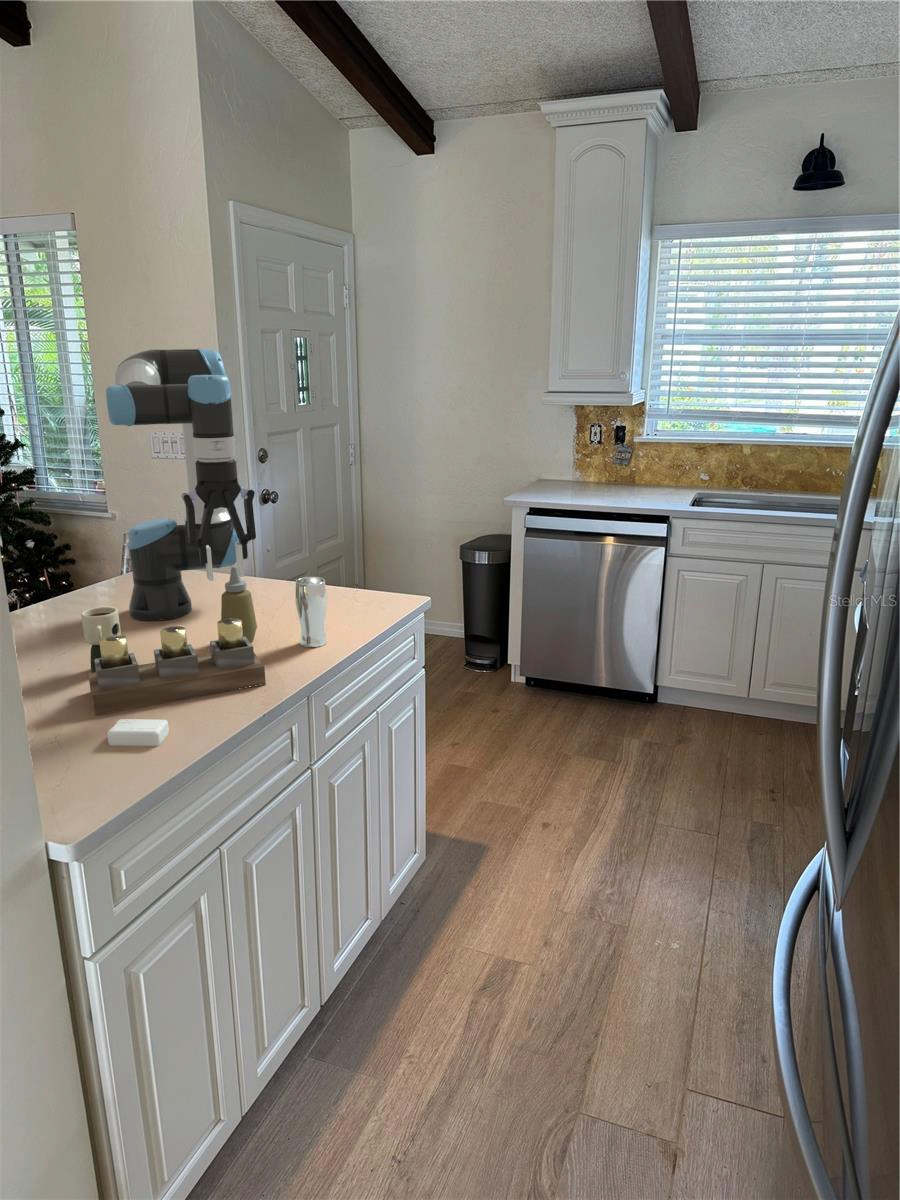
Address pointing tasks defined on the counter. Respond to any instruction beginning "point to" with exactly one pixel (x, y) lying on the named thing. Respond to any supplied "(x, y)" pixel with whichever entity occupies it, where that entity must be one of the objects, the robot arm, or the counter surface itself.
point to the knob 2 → (230, 633)
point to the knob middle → (174, 642)
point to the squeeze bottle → (239, 604)
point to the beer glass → (311, 610)
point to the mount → (174, 677)
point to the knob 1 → (114, 651)
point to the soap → (138, 732)
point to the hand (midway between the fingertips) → (225, 576)
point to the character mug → (99, 628)
